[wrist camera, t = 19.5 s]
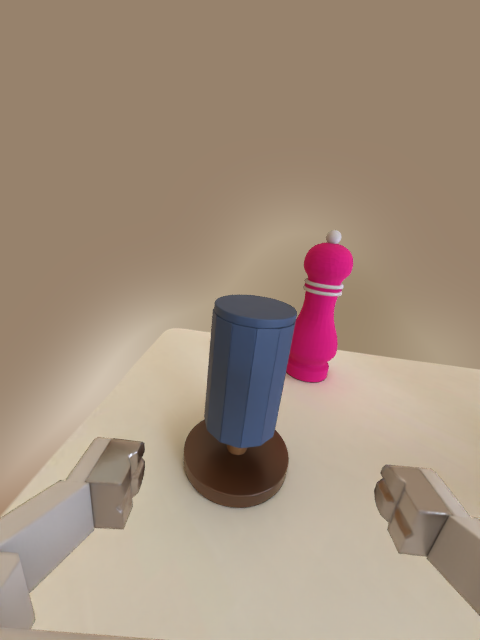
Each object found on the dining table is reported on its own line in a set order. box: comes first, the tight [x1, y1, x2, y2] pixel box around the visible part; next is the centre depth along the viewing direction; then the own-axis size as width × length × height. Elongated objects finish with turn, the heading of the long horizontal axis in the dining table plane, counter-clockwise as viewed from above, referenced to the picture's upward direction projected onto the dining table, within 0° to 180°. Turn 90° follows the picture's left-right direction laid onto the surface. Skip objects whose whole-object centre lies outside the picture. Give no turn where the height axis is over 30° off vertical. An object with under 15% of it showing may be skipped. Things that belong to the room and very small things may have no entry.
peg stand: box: [184, 419, 289, 508], centre depth 21 cm, size 9×9×14 cm
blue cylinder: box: [204, 295, 297, 448], centre depth 21 cm, size 6×6×10 cm
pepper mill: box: [286, 230, 353, 382], centre depth 36 cm, size 7×7×20 cm
